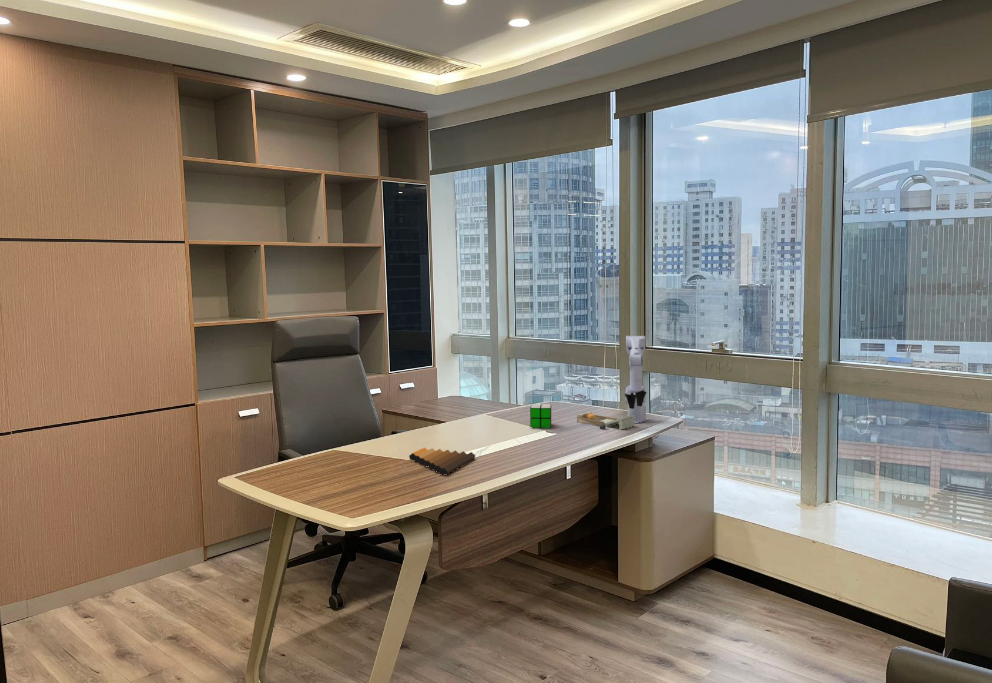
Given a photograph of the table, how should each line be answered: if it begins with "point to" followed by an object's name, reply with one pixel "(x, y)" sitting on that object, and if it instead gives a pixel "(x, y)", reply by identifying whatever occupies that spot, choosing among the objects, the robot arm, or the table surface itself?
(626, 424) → the ramp
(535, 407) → the puzzle cube
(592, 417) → the ball
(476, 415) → the table surface
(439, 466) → the brown ridged panel
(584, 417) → the wooden tray
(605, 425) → the tee
